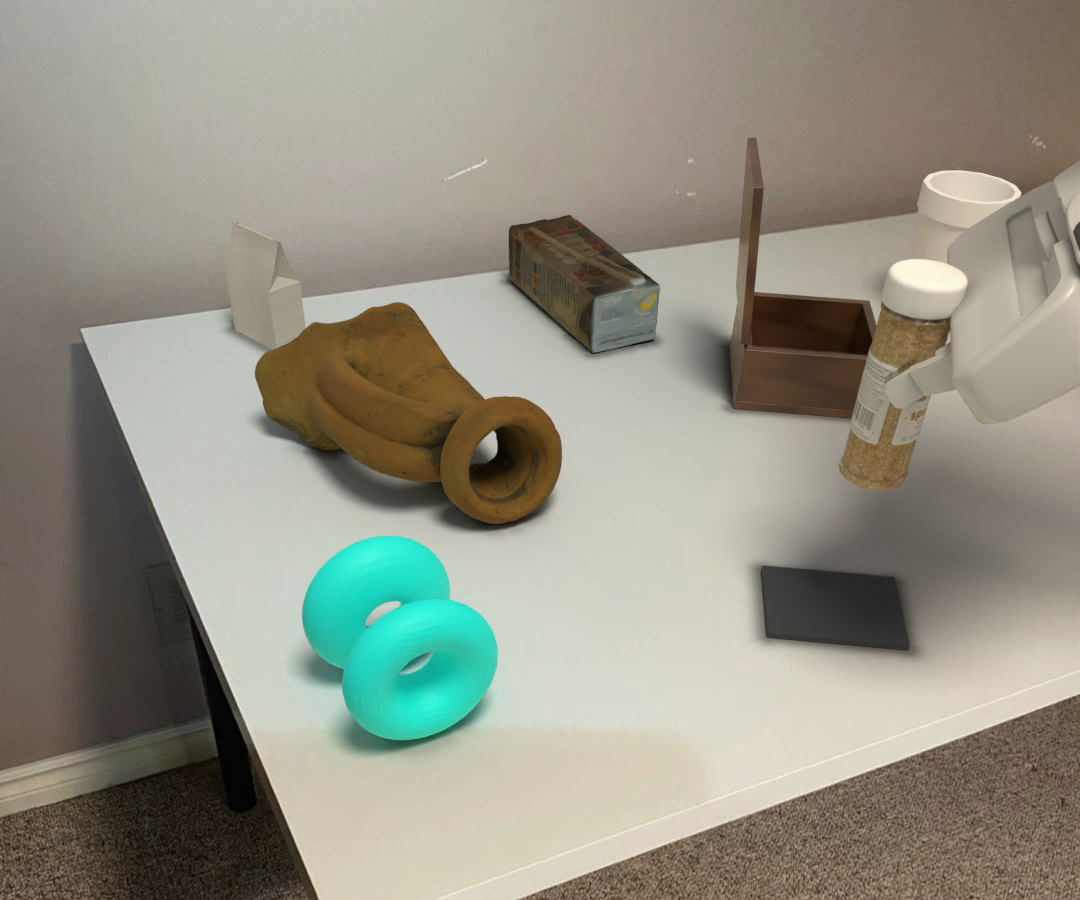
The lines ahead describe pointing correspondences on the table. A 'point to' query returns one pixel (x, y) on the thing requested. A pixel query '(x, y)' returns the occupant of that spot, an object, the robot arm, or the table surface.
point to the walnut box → (802, 354)
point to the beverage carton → (583, 283)
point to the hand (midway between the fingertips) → (890, 373)
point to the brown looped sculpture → (410, 412)
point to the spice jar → (901, 336)
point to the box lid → (749, 239)
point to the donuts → (399, 638)
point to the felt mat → (833, 607)
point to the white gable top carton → (263, 289)
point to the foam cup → (955, 208)
